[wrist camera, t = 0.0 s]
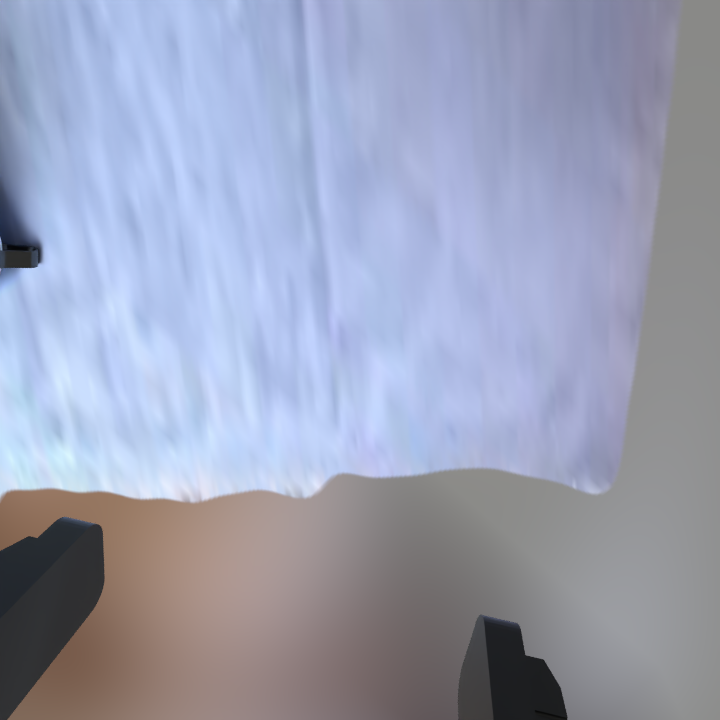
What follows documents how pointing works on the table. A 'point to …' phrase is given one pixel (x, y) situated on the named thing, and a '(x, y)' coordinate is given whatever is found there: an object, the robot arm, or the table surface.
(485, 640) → the robot arm
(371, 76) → the table surface
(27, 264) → the coffee press
